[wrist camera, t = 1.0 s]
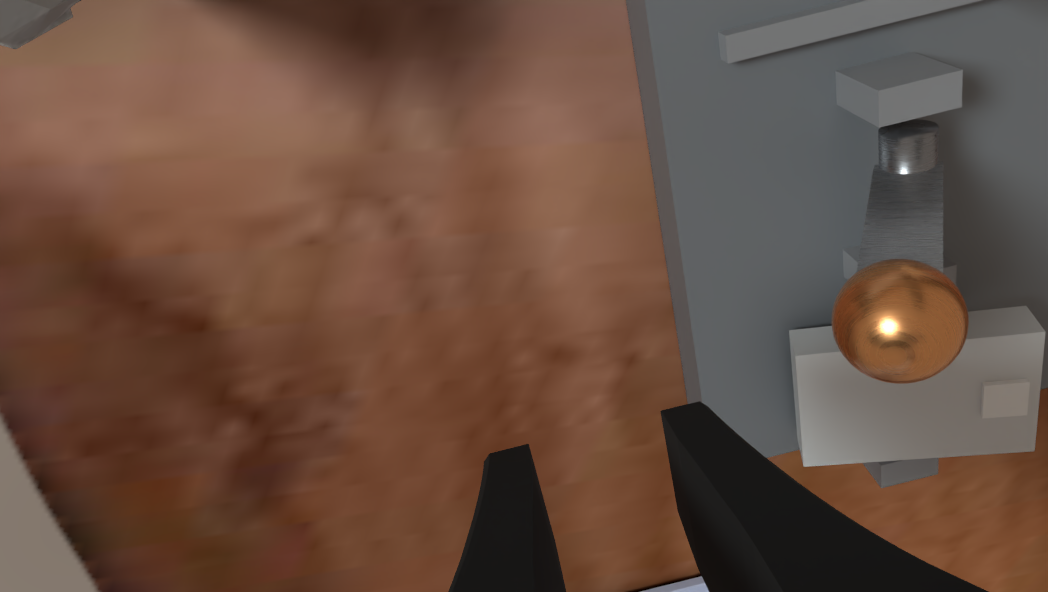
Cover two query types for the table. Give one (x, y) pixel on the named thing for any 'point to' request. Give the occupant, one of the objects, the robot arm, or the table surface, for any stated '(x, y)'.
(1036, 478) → the table surface
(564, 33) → the table surface
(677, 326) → the panel
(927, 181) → the lever
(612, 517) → the table surface
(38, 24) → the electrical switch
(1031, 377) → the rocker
